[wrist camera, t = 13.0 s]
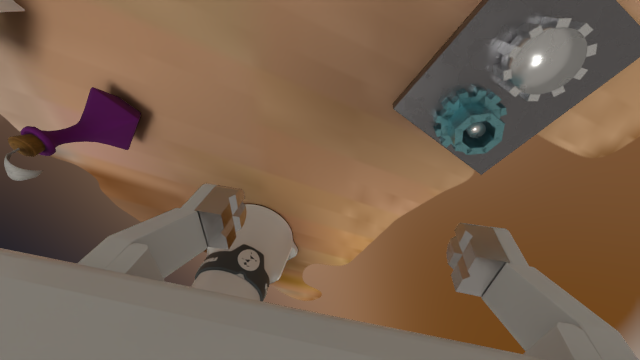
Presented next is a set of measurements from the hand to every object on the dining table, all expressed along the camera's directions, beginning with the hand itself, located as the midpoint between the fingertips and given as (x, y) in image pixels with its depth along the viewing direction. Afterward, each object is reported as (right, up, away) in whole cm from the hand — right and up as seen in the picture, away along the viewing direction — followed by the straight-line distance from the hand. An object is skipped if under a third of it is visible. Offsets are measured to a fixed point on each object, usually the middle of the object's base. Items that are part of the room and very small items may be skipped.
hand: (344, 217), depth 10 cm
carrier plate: (+21, +14, +22) cm, 33 cm away
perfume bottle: (-34, +13, +35) cm, 50 cm away
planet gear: (+18, +9, +23) cm, 31 cm away
